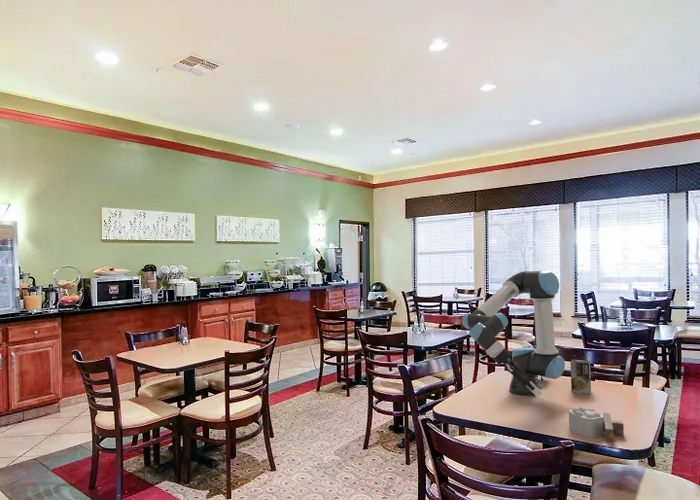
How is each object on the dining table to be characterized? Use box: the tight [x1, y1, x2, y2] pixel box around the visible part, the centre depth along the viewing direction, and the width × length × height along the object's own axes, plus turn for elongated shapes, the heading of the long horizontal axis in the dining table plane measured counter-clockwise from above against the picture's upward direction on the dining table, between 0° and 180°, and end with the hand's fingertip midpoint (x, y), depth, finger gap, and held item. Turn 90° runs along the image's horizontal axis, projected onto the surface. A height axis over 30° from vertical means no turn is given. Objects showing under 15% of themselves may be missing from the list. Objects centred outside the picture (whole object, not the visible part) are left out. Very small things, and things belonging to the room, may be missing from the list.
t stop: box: [602, 412, 625, 443], centre depth 180 cm, size 6×20×5 cm, turn 153°
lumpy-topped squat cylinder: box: [568, 406, 605, 438], centre depth 184 cm, size 10×13×9 cm
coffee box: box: [569, 359, 592, 395], centre depth 238 cm, size 9×6×16 cm
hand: (539, 395), depth 192 cm, fingers closed
